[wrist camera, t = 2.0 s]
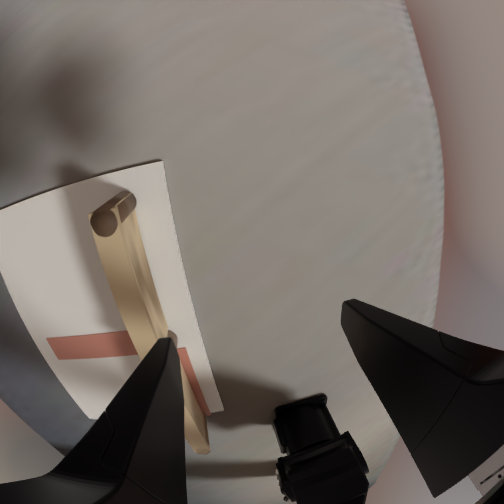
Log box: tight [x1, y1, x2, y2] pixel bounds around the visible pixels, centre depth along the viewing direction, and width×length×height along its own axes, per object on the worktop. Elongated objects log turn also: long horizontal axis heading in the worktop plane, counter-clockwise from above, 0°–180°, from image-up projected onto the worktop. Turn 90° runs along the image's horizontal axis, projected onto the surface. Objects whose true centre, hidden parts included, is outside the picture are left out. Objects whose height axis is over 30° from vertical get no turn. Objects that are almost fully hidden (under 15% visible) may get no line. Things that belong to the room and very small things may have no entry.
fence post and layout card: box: [0, 161, 224, 454], centre depth 19 cm, size 18×27×6 cm, turn 6°
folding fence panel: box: [88, 191, 168, 361], centre depth 17 cm, size 11×2×5 cm, turn 6°
